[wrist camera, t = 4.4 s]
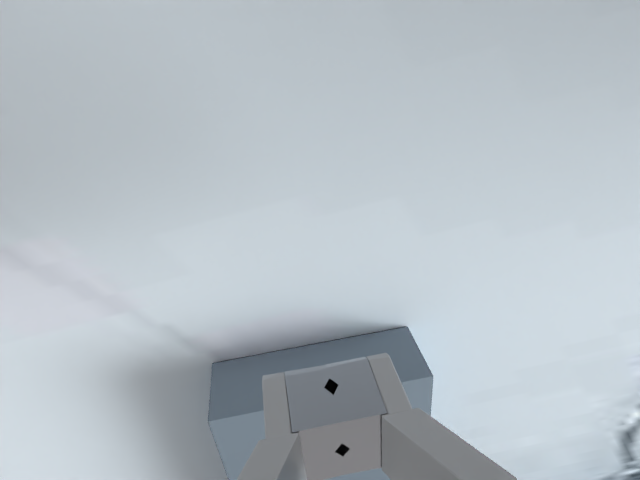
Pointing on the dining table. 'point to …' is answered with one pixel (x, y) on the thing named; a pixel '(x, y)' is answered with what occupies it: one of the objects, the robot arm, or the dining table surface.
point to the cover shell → (246, 373)
